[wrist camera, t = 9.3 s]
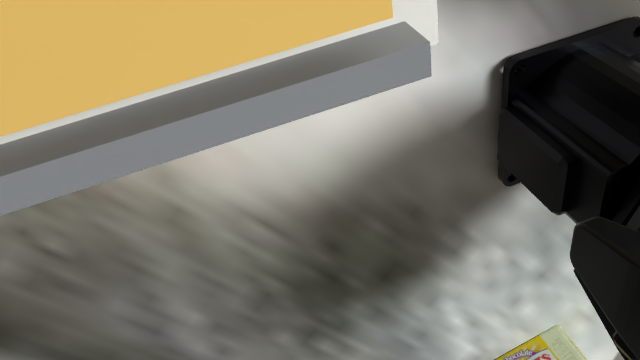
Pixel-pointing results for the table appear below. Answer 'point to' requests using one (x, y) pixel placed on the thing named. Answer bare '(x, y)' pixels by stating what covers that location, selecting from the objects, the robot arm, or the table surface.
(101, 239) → the table surface
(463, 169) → the table surface
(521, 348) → the candy box
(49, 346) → the table surface
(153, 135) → the breaker box
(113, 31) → the yellow rectangular block
